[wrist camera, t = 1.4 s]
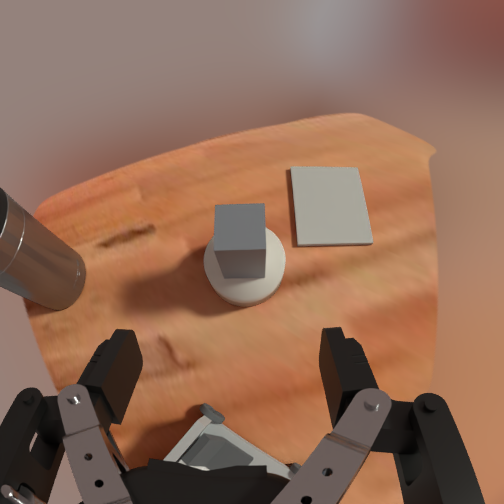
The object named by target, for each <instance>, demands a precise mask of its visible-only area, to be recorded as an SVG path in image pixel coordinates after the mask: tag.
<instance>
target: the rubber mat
mask: <svg viewBox="0 0 504 504" xmlns="http://www.w3.org/2000/svg"><path fill="white" fill-rule="evenodd" d="M290 170H291V180H292V190H293V200H294V211H295V222H296V233H297V245H298V246H328V245H371V244H373V238H372V233H371V227H370V222H369V217H368V212H367V207H366V202H365V198H364V193H363V189H362V184H361V180H360V176H359V171H358V168H352V167H291V168H290Z"/></svg>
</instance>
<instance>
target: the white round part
mask: <svg viewBox="0 0 504 504" xmlns="http://www.w3.org/2000/svg"><path fill="white" fill-rule="evenodd" d="M265 228H266V227H265ZM284 268H285V252H284V248H283V246H282V243H281V242H280V240H279V239H278V237H277V236H276V235H275V234H274V233H273V232H272V231H270V230H269V229H268V228H266V269H265V278H228V279H224V277H223V275H222V272H221V269H220V267H219V264H218V261H217V258H216V256H215V253H214V236H213V237H212V239H211V240H210V241H209V243H208V245H207V247H206V250H205V254H204V269H205V272H206V275H207V277H208V279H209V281H210V283H211V285H212V287H213V289H214V290H215V292H216V293H217V294H218V295H219V296H220V297H221V298H222V299H223V300H225V301H226V302H228V303H230V304H233V305H236V306H241V307H250V306H255V305H259V304H261V303H263V302H265V301H267V300H268V299H270V298H271V297H272V296H273V295H274V294H275V292H276V291H277V290H278V288H279V286H280V284H281V281H282V277H283V273H284Z"/></svg>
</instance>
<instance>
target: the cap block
mask: <svg viewBox="0 0 504 504" xmlns="http://www.w3.org/2000/svg"><path fill="white" fill-rule="evenodd" d="M214 253H215V256H216V258H217V261H218V264H219V267H220V269H221V272H222V275H223V277H224V279H228V278H265V269H266V228H265V204H264V203H261V204H229V205H215V224H214Z"/></svg>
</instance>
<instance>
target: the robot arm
mask: <svg viewBox="0 0 504 504" xmlns="http://www.w3.org/2000/svg"><path fill="white" fill-rule="evenodd" d="M85 276H86V271H85V265H84V262H83V259H82V258H81V256H80V255H79V254H78V253H77V252H76V251H74V250H73V249H72V248H71V247H69V246H68V245H67V244H66V243H64V242H63V241H62V240H61V239H59V238H58V237H57V236H56V235H55V234H53V233H52V232H51V231H50V230H48V229H47V228H46V227H45V226H44V225H42V224H41V223H40V222H39V221H38V220H36V219H35V218H34V217H33V216H32V215H30V214H29V213H28V212H27V211H26V210H25V209H23V208H22V207H21V206H20V205H19V204H18V203H17V202H15V201H14V200H13V199H12V198H11V197H10V196H9V195H8V194H7V193H6V192H4V191H3V189H1V188H0V287H2V288H4V289H7V290H9V291H11V292H13V293H15V294H18V295H20V296H22V297H24V298H26V299H29V300H31V301H33V302H35V303H38V304H40V305H42V306H45V307H47V308H50V309H52V310H63V309H65V308H67V307H69V306H70V305H72V304H73V303H74V302H75V301H76V300H77V298H78V297H79V295H80V294H81V292H82V289H83V287H84V283H85ZM93 355H94V356H92V358H91V359H90V362H89V363H88V364H87V366H86V368H85V370H84V371H83V373H82V375H81V377H80V378H79V380H78V382H77V384H73V385H69V386H67V387H65V388H64V389H62V390H61V392H60V393H59V395H58V396H46V397H43V395H42V394H41V392H40V391H39V390H38V389H37V388H26V389H24V390H23V391H21V392H20V393H19V394H18V395H17V397H16V398H15V400H14V402H13V404H12V405H11V407H10V409H9V411H8V412H7V414H6V416H5V418H4V420H3V422H2V424H1V426H0V504H47V503H48V500H49V497H50V493H51V490H52V487H53V484H54V481H55V478H56V475H57V472H58V469H59V466H60V463H61V460H62V458H63V455H64V452H65V450H66V453H67V457H68V460H69V463H70V466H71V469H72V472H73V475H74V478H75V481H76V484H77V486H78V489H79V492H80V494H81V496H82V499H83V501H82V502H80V503H79V504H339V503H340V501H341V500H342V498H343V497H344V495H345V494H346V492H347V490H348V489H349V487H350V485H351V484H352V482H353V481H354V479H355V477H356V476H357V474H358V472H359V471H360V469H361V467H362V466H363V464H364V462H365V460H366V459H367V457H368V455H369V453H370V451H374V452H386V453H393V456H394V460H395V464H396V469H397V473H398V477H399V482H400V486H401V491H402V496H403V501H404V504H485V502H484V499H483V496H482V493H481V489H480V487H479V484H478V481H477V478H476V475H475V472H474V469H473V467H472V464H471V461H470V459H469V456H468V453H467V451H466V448H465V446H464V443H463V441H462V438H461V436H460V433H459V431H458V428H457V426H456V424H455V422H454V419H453V417H452V415H451V412H450V410H449V408H448V406H447V403H446V402H445V400H444V399H443V398H442V397H440V396H439V395H436V394H433V393H424V394H421V395H419V396H418V397H417V398H416V399H415V400H414V402H403V401H395V400H392V399H390V397H389V396H388V395H387V394H386V393H385V392H383V391H382V390H379V388H378V385H377V383H376V380H375V378H374V375H373V373H372V370H371V368H370V365H369V363H368V360H367V358H366V356H365V353H364V351H363V348H362V346H361V345H360V344H359V343H358V342H357V341H356V340H355V339H354V338H346V339H345V336H344V334H343V331H342V329H341V327H334V328H323V329H322V335H321V344H320V353H319V368H320V373H321V377H322V382H323V386H324V390H325V395H326V399H327V404H328V409H329V413H330V418H331V423H332V427H333V431H332V432H331V433H330V434H329V433H328V434H326V435H325V436H324V438H323V439H322V440H321V442H320V443H319V444H318V446H317V447H316V448H315V450H314V451H313V452H312V454H311V455H310V456H309V458H308V459H307V460H306V462H305V463H304V464H303V465H302V467H301V468H300V469H299V470H298V472H297V473H296V474H295V475H294V477H293V478H292V479H291V480H290V479H288V478H285V477H283V476H280V475H277V474H274V473H268V472H267V465H236V466H231V467H226V468H220V469H214V470H207V471H206V470H201V469H197V468H194V467H191V466H188V465H184V464H181V463H178V462H173V461H164V460H157V459H150V458H149V462H148V466H142V467H137V468H134V469H131V470H130V469H129V467H128V466H127V464H126V462H125V460H124V458H123V456H122V454H121V452H120V450H119V448H118V446H117V444H116V442H115V439H114V437H113V435H112V433H111V431H110V429H109V428H110V425H111V423H114V424H120V425H121V423H122V420H123V418H124V415H125V412H126V409H127V407H128V404H129V401H130V399H131V396H132V393H133V391H134V388H135V386H136V383H137V381H138V378H139V375H140V373H141V370H142V366H143V359H142V354H141V351H140V348H139V345H138V342H137V338H136V335H135V332H134V331H133V330H125V329H116V330H115V331H114V333H113V335H112V337H111V338H110V340H107V339H106V340H105V341H104V342H103V343H101V344H100V345H99V346H98V347H97V349H96V351H95V352H94V354H93ZM35 432H36V433H37V434H38V435H37V438H36V440H35V442H34V445H33V447H32V449H31V452H30V451H29V446H30V443H31V441H32V438H33V436H34V434H35Z"/></svg>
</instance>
